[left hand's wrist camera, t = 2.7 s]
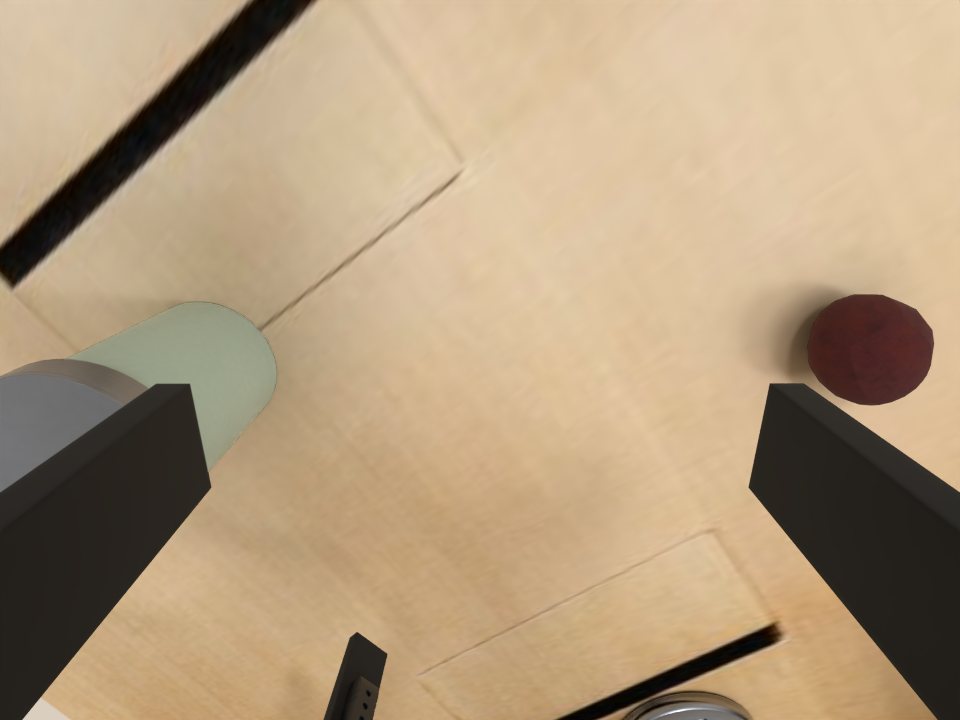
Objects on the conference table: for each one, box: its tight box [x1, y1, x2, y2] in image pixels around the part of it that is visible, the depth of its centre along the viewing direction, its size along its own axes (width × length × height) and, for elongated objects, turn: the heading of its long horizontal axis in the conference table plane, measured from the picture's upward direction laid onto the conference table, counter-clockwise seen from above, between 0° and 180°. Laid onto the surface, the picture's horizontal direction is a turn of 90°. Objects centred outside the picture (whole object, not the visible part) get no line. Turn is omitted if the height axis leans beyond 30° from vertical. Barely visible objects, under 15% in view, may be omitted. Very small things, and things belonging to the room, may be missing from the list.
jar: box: [66, 302, 277, 472], centre depth 35 cm, size 10×10×15 cm
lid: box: [0, 359, 148, 492], centre depth 28 cm, size 11×11×2 cm
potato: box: [807, 294, 934, 405], centre depth 37 cm, size 7×8×7 cm
